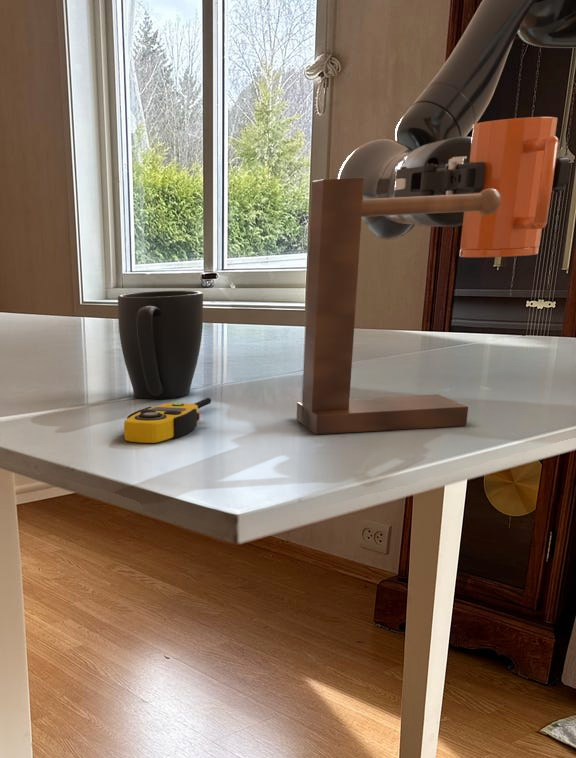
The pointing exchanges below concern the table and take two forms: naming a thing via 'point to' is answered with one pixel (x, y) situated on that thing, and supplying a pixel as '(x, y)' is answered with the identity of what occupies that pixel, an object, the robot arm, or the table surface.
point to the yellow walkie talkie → (162, 422)
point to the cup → (512, 186)
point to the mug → (161, 341)
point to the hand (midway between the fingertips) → (521, 175)
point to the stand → (337, 312)
